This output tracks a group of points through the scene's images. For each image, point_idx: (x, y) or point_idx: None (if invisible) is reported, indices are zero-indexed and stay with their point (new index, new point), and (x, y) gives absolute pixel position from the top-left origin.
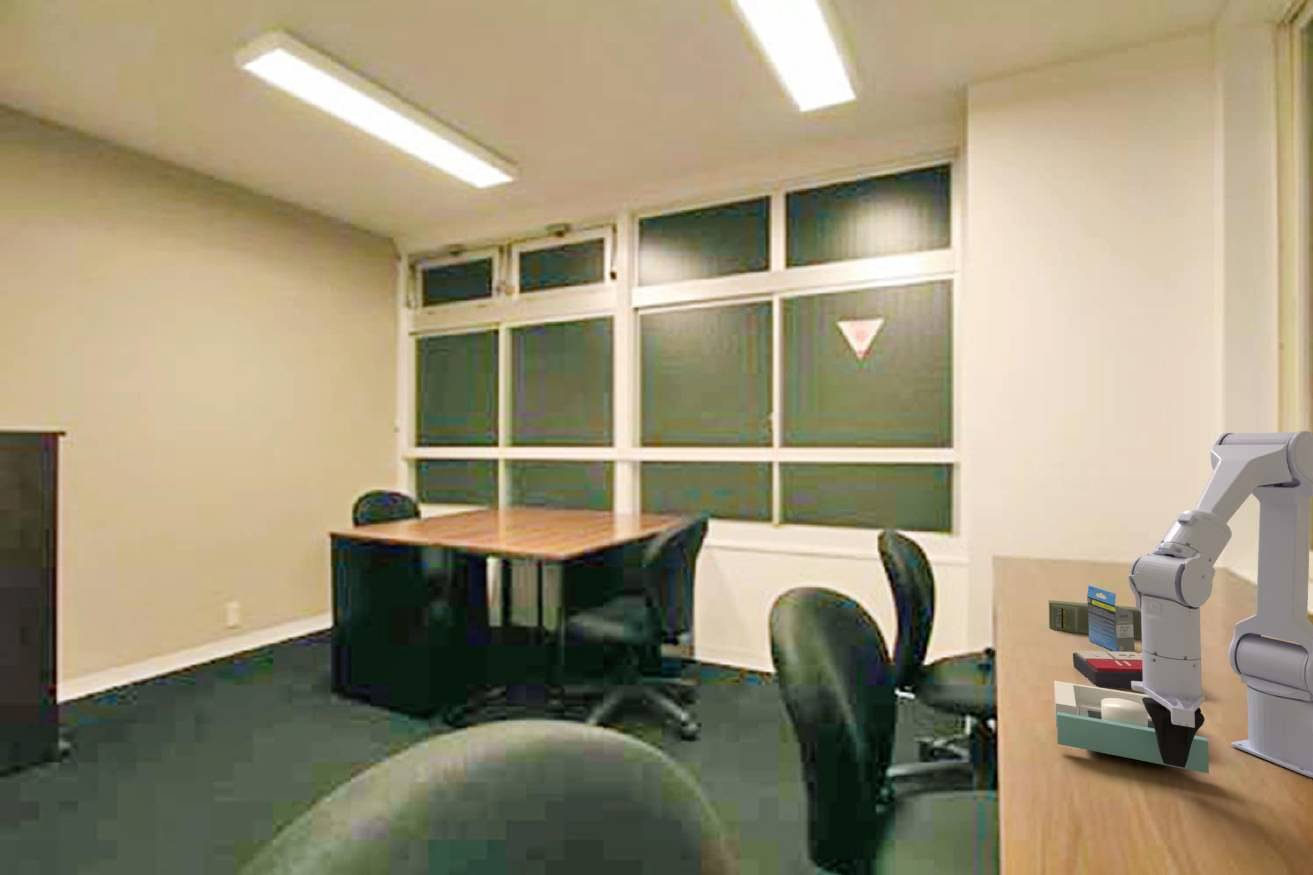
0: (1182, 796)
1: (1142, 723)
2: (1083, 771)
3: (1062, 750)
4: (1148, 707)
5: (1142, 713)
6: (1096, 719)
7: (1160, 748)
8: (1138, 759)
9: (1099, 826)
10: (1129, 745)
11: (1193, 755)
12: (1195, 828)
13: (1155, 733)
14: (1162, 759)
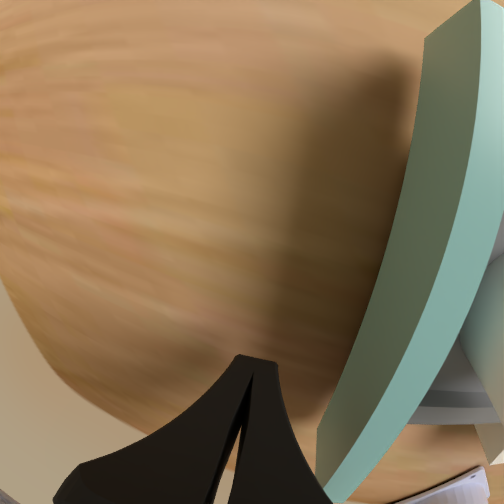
0: (213, 332)
1: (486, 391)
2: (282, 88)
3: None
4: (60, 502)
5: (502, 420)
6: (490, 199)
7: (216, 382)
8: (371, 297)
9: (9, 104)
10: (389, 294)
11: (327, 441)
12: (70, 289)
13: (285, 420)
14: (236, 359)
